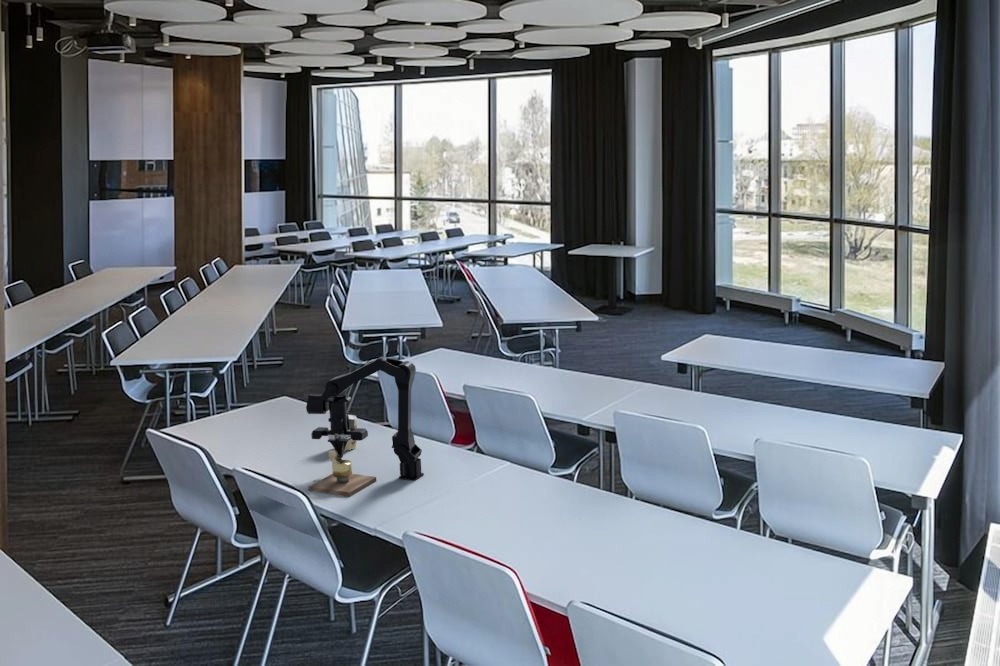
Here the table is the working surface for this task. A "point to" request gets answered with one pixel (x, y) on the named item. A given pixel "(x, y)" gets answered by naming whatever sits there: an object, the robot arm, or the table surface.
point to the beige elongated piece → (340, 465)
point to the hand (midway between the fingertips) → (341, 457)
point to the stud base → (342, 484)
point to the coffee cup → (351, 443)
